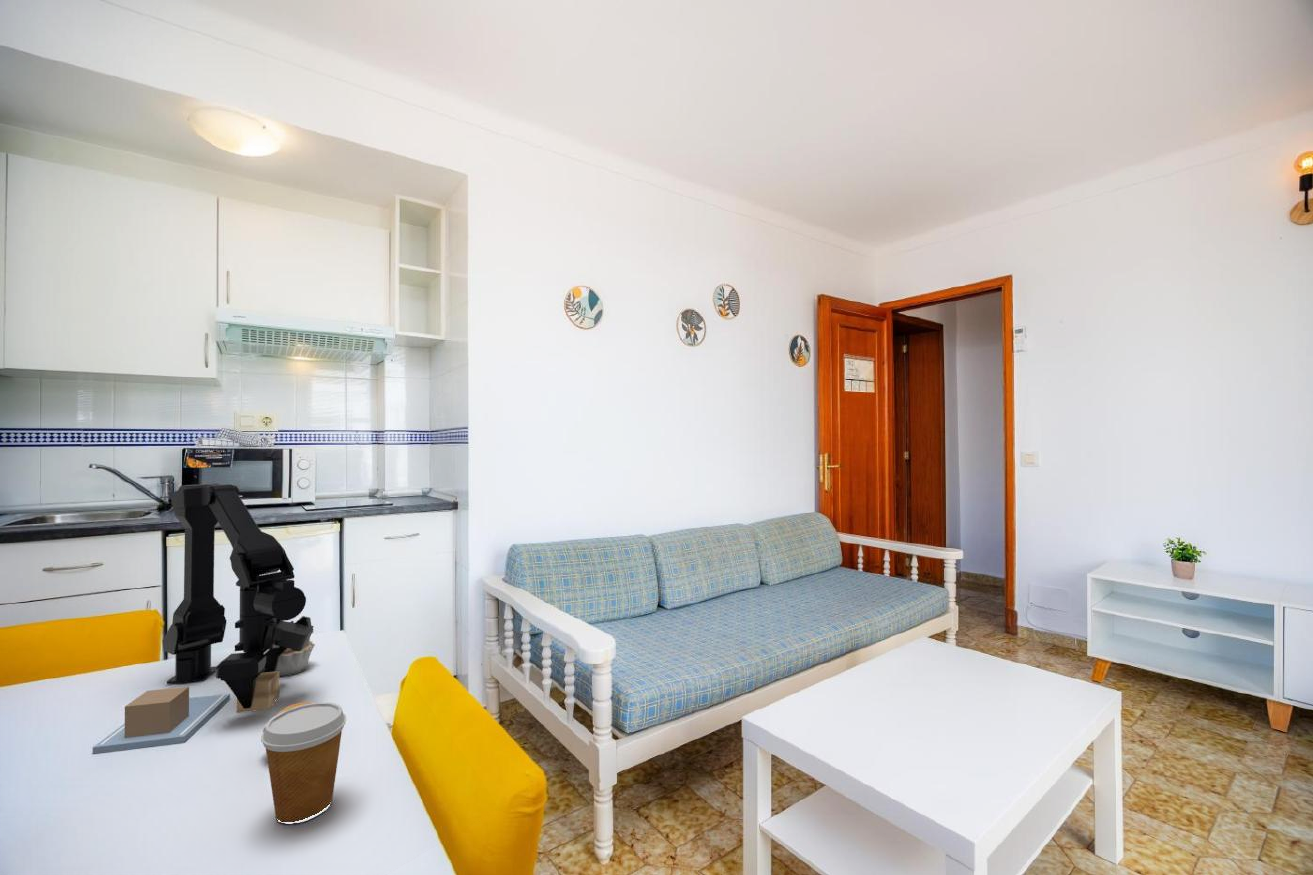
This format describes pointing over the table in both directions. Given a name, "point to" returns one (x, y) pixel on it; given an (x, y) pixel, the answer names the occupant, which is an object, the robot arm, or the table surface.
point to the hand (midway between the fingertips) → (258, 696)
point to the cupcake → (294, 660)
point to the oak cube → (263, 692)
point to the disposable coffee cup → (303, 758)
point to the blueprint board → (169, 737)
